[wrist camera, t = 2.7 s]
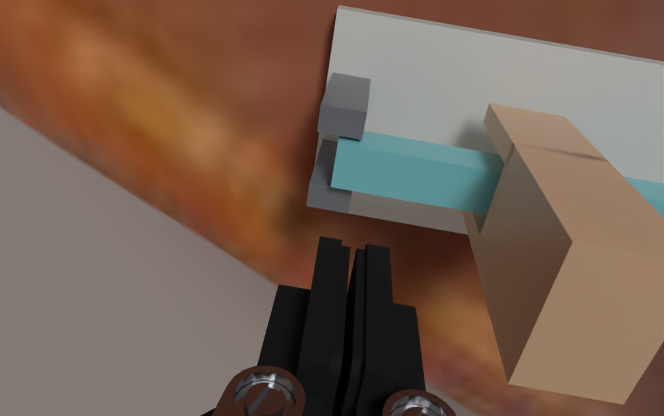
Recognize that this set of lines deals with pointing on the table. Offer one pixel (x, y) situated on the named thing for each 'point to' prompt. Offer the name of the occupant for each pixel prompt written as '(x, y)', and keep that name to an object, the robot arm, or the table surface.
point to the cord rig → (466, 115)
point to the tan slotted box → (567, 261)
